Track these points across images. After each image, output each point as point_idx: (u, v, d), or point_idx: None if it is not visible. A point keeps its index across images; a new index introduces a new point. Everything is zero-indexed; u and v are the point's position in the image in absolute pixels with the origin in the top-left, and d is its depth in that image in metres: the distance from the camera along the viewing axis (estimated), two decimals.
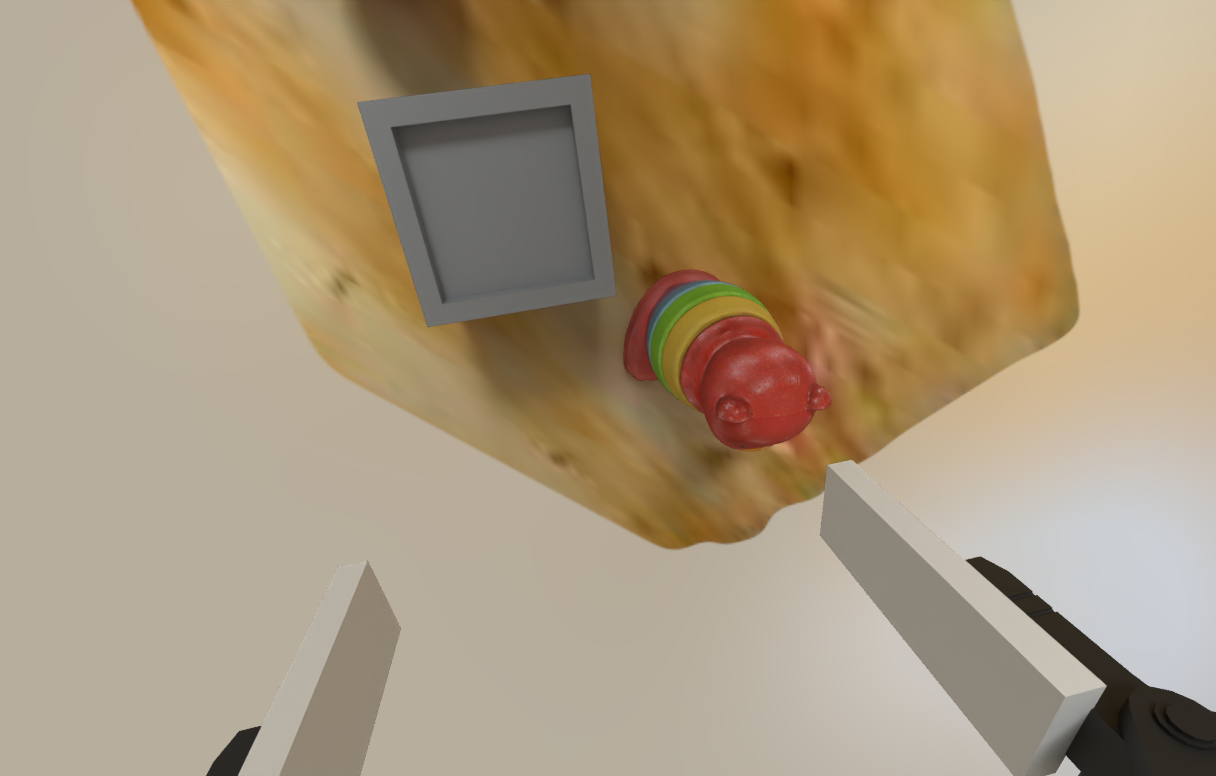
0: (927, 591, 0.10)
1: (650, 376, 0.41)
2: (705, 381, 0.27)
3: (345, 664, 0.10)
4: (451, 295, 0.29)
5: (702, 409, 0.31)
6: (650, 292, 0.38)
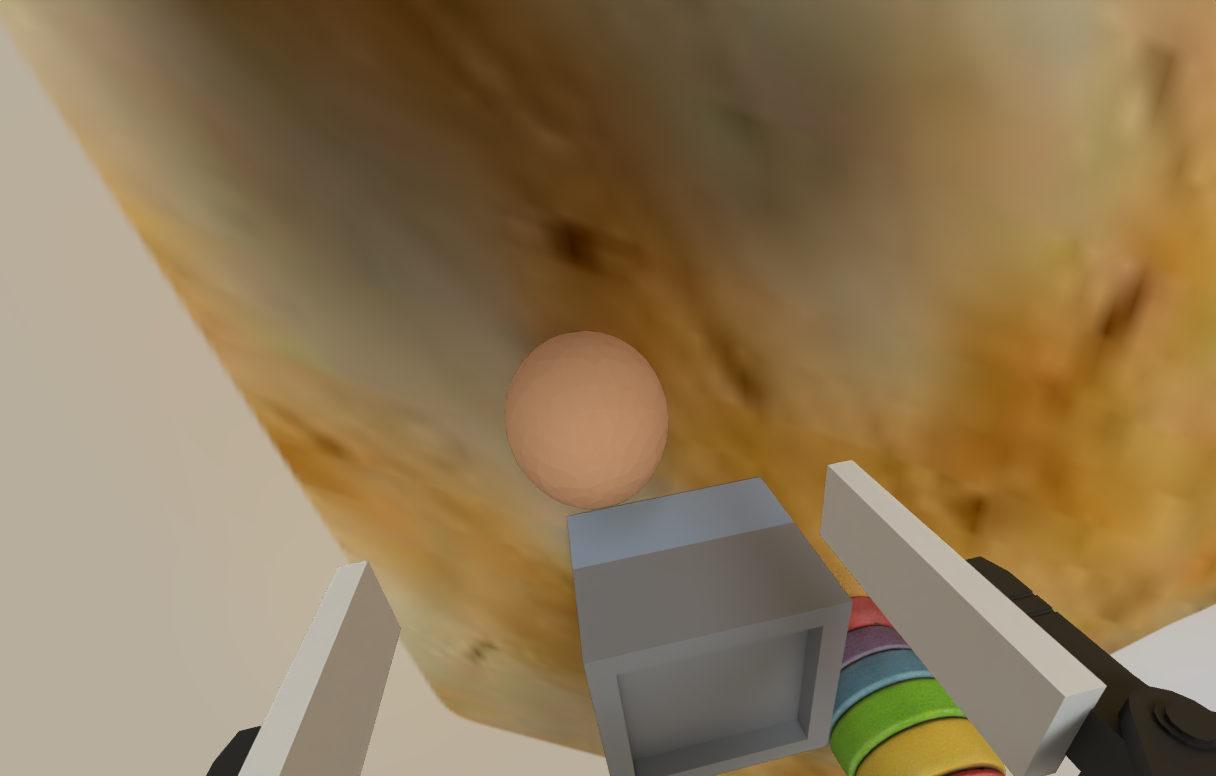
0: (927, 591, 0.10)
1: None
2: None
3: (345, 664, 0.10)
4: (640, 757, 0.25)
5: None
6: None
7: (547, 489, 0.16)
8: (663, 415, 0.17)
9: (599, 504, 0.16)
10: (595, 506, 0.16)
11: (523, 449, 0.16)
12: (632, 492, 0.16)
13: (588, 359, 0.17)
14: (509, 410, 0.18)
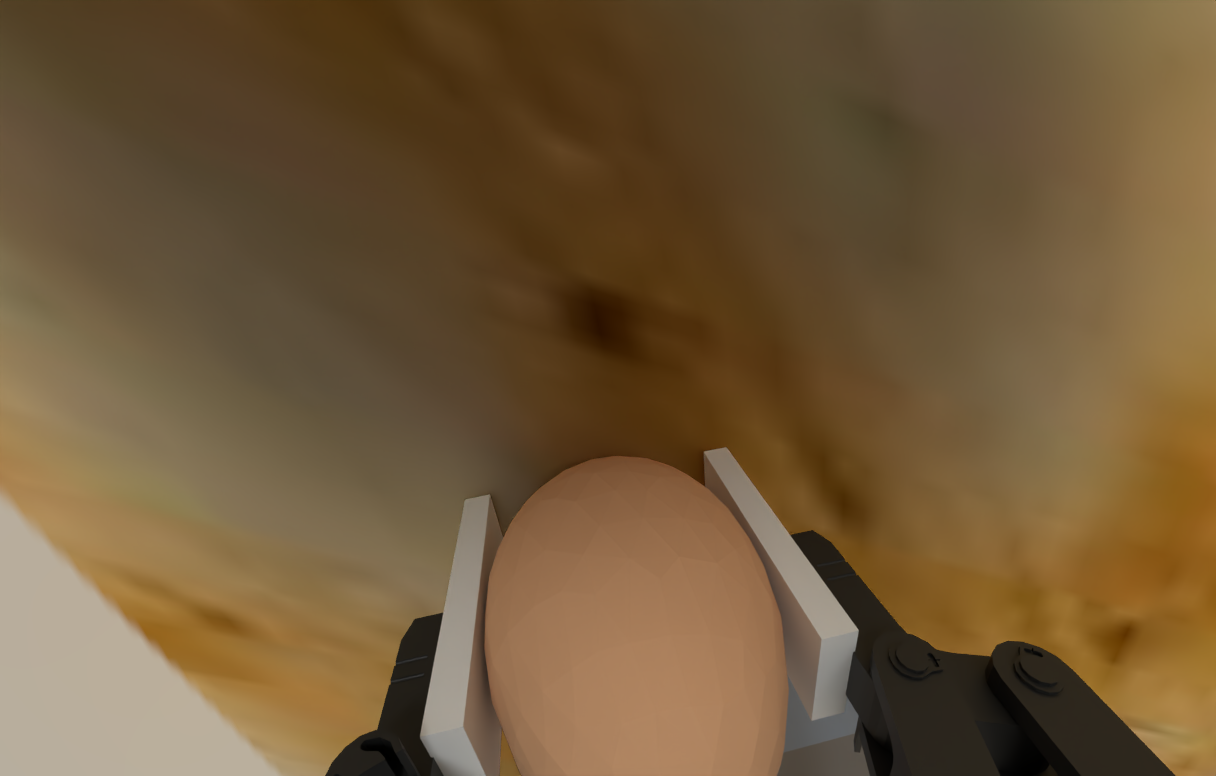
0: None
1: None
2: None
3: (489, 572, 0.12)
4: None
5: None
6: None
7: None
8: (784, 653, 0.09)
9: None
10: None
11: (515, 749, 0.08)
12: None
13: (644, 563, 0.08)
14: (490, 639, 0.09)
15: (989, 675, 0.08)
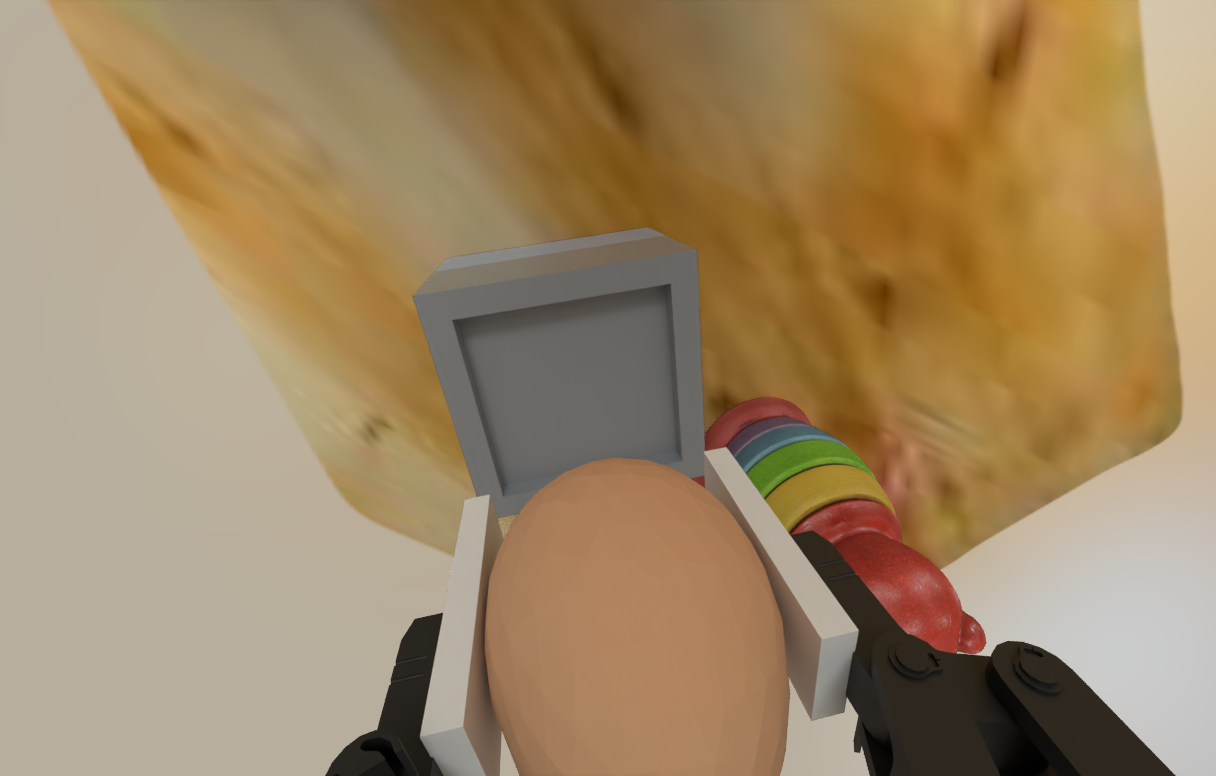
0: None
1: None
2: None
3: (489, 572, 0.12)
4: (511, 480, 0.24)
5: None
6: (721, 424, 0.34)
7: None
8: (785, 656, 0.09)
9: None
10: None
11: (516, 752, 0.08)
12: None
13: (645, 566, 0.08)
14: (490, 642, 0.09)
15: (989, 674, 0.08)
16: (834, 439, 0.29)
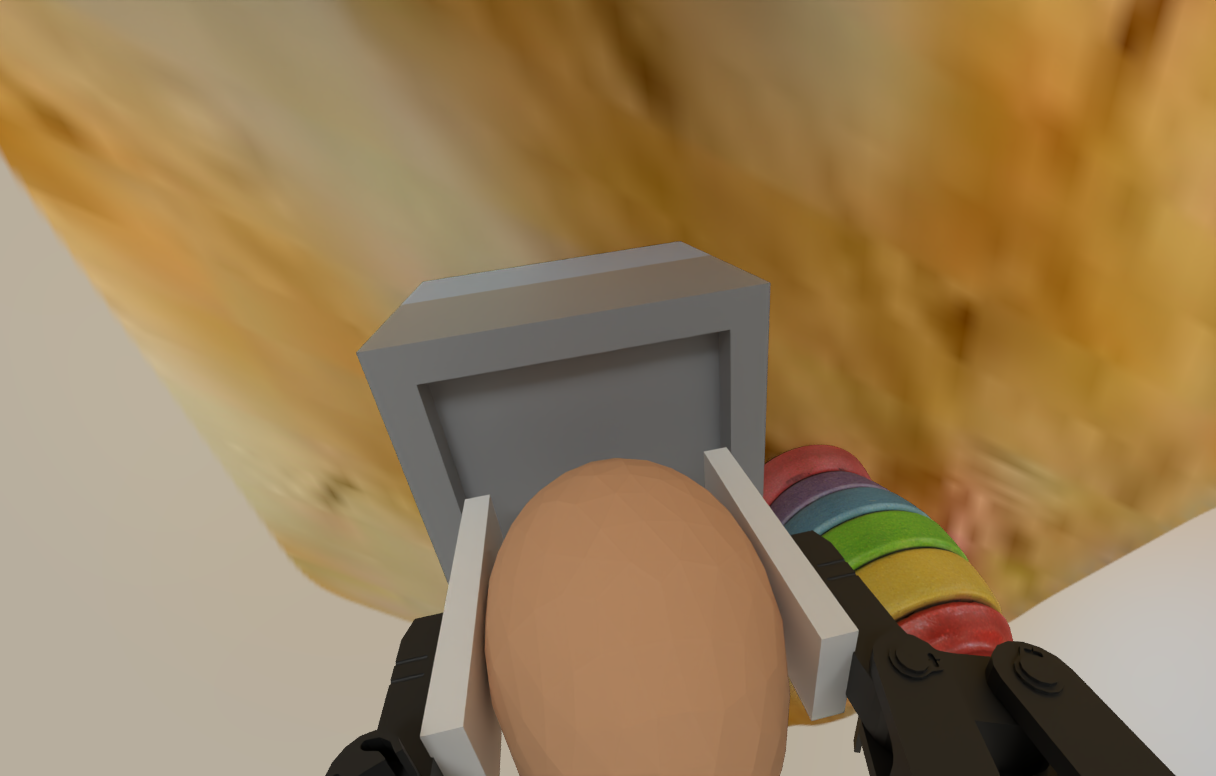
0: None
1: None
2: None
3: (489, 572, 0.12)
4: None
5: None
6: None
7: None
8: (785, 656, 0.09)
9: None
10: None
11: (516, 753, 0.08)
12: None
13: (645, 567, 0.08)
14: (490, 643, 0.09)
15: (989, 675, 0.08)
16: (912, 507, 0.23)
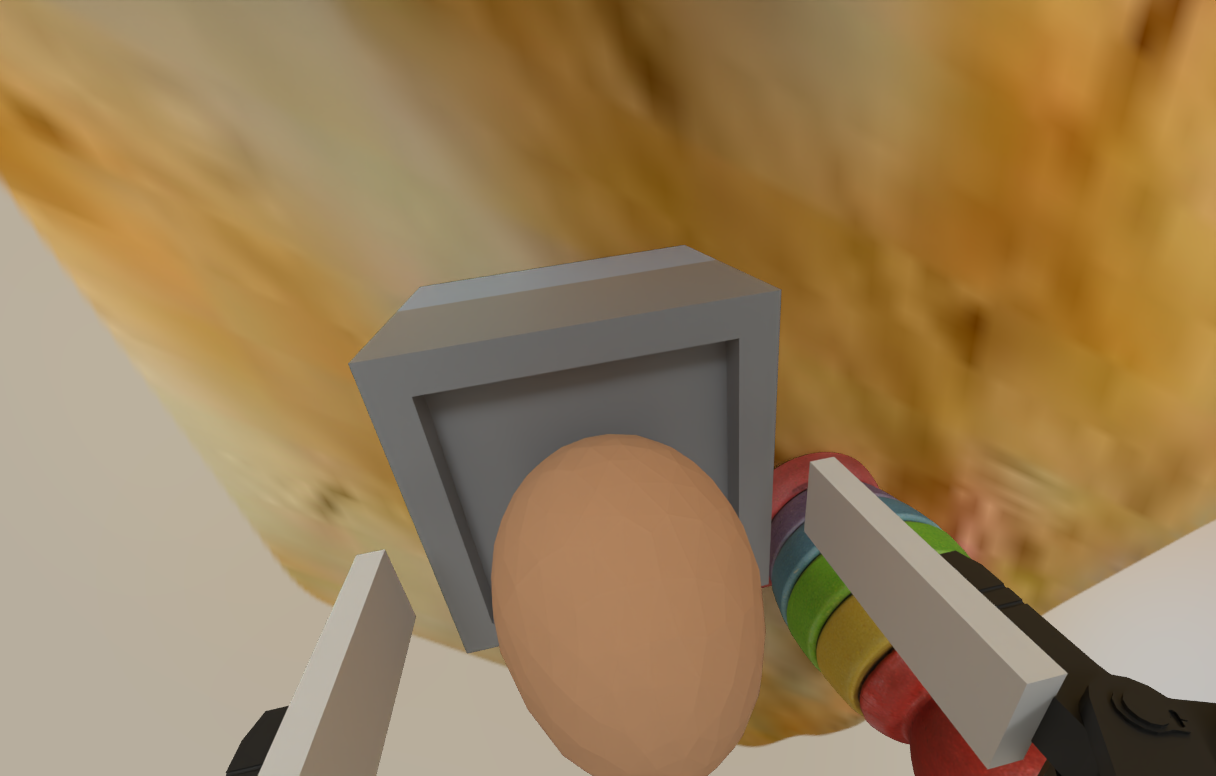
0: (902, 584, 0.10)
1: None
2: (940, 770, 0.16)
3: (366, 648, 0.10)
4: None
5: None
6: None
7: (569, 759, 0.09)
8: (761, 600, 0.10)
9: None
10: None
11: (525, 687, 0.09)
12: None
13: (637, 520, 0.09)
14: (498, 595, 0.10)
15: None
16: (922, 518, 0.23)
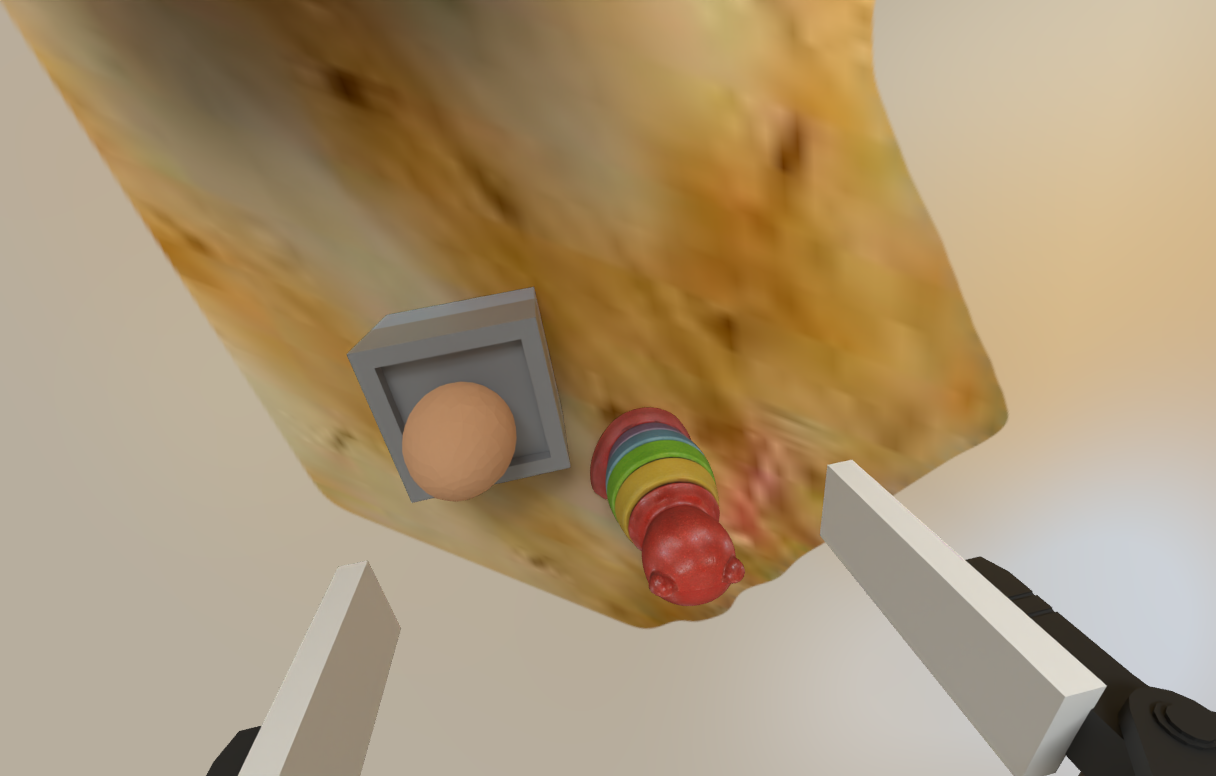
0: (927, 591, 0.10)
1: None
2: (643, 549, 0.33)
3: (345, 664, 0.10)
4: None
5: None
6: (610, 429, 0.44)
7: (422, 488, 0.26)
8: (501, 439, 0.27)
9: (454, 497, 0.26)
10: (453, 499, 0.26)
11: (407, 463, 0.26)
12: (476, 489, 0.26)
13: (447, 405, 0.26)
14: (402, 438, 0.27)
15: None
16: (681, 439, 0.39)
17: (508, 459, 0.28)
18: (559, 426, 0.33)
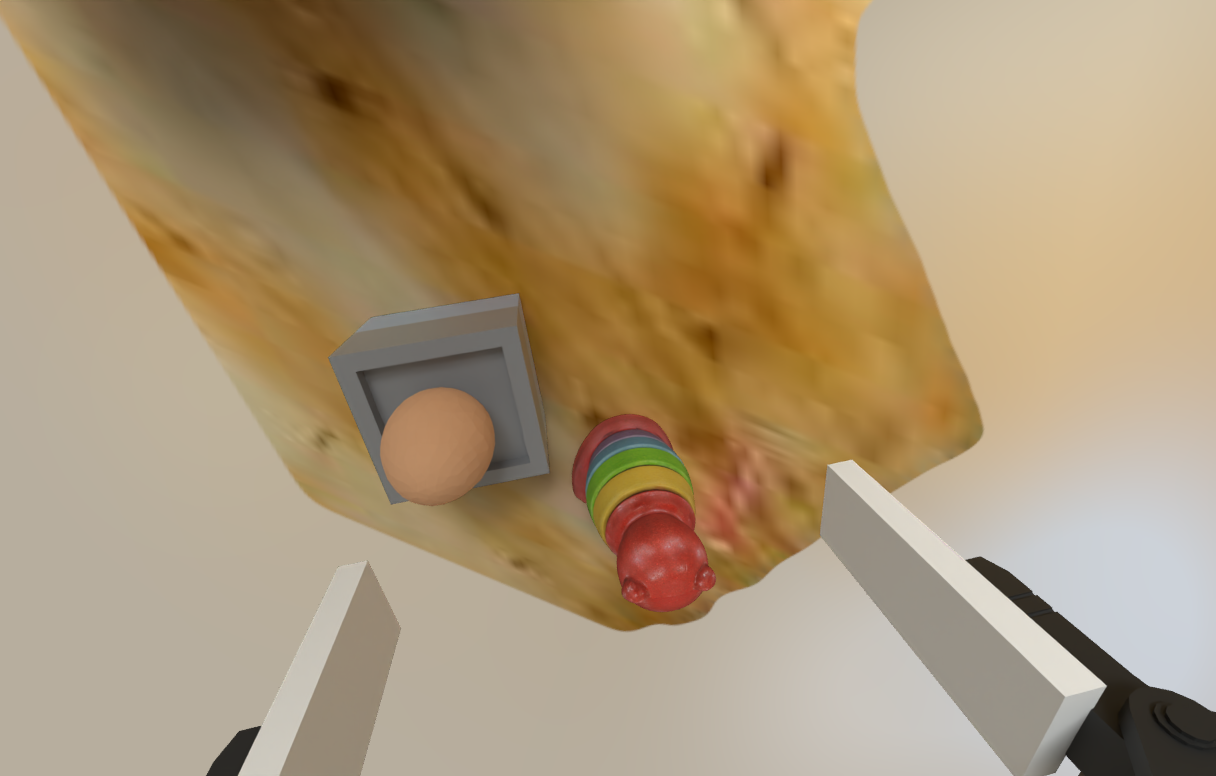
0: (927, 591, 0.10)
1: None
2: (618, 555, 0.33)
3: (345, 664, 0.10)
4: None
5: None
6: (592, 435, 0.44)
7: None
8: (478, 445, 0.27)
9: (430, 502, 0.26)
10: (428, 503, 0.26)
11: (384, 467, 0.26)
12: (452, 494, 0.26)
13: (425, 411, 0.27)
14: (381, 442, 0.27)
15: None
16: (660, 447, 0.40)
17: (485, 465, 0.28)
18: (539, 432, 0.34)
